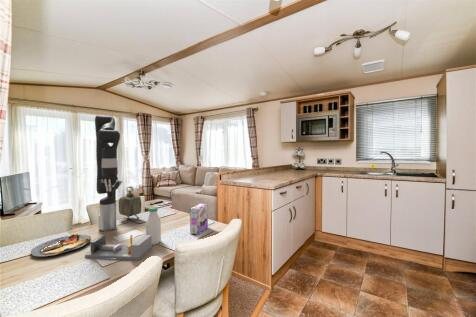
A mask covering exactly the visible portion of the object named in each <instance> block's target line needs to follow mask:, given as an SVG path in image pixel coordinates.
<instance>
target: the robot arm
mask: <svg viewBox="0 0 476 317" xmlns="http://www.w3.org/2000/svg"><path fill="white" fill-rule="evenodd" d="M94 129H95V138H96V139H95V143H96V144H95V145H96V146H95V147H96V149H95V154H96V155H95V158H96V192H97V194H98V195H104V194H105V195H106V194H107V196H105V197H103V198H101V199H99V215H98V230H99V231H102V232H107V231H113V230H115V229H116V228H117V196H116V194H117V190H119V187H120V186H121V185H122V183H123V180H119V177H118V174H119V171H118V170H119V169H118V167H119V166H118V164H119V163H118V146H119V144H120V143H119V142H120V140H121V134H120V132H119V131H118V130H115V129H116V121H115V118H114V117H113V116H110V115H100V114H99V115H95V117H94ZM110 144H112V145H110Z"/></svg>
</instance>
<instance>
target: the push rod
mask: <svg viewBox="0 0 476 317" xmlns="http://www.w3.org/2000/svg"><path fill="white" fill-rule="evenodd" d="M111 244H112V243H111ZM111 244H110V243H107V236H106V235H100V236H99V237H96V238H95V239H93V240H90V242H89V246H90V247H89V248H90V251H91V252H96V251H97V250H113V252H116V251H117V250H119V249H120V248H121V247H122V245H123V244H122V243H118V244H116V245H111Z"/></svg>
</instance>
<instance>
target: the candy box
mask: <svg viewBox="0 0 476 317" xmlns="http://www.w3.org/2000/svg"><path fill="white" fill-rule="evenodd" d="M208 206H209V205H208V204H207V203H199V204H197V205H195V206H193V207H192V206H191V208H190V209H189V224H190V225H189V233H193V234H192V235H196V234H198V235H200V234H201V233H202V232H204V231H205V230H206V229H208V228H209V225H208V224H209V216H208V214H209V213H208V210H209V209H208ZM203 230H204V231H203ZM200 232H201V233H200ZM199 233H200V234H199Z"/></svg>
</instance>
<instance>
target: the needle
mask: <svg viewBox="0 0 476 317" xmlns="http://www.w3.org/2000/svg"><path fill="white" fill-rule="evenodd" d="M129 238H130V241H129V242H130V244H128V245H129V246H128V247H127V249H128V253H130V252H131V244H133V243H134V242H135V241H134V242H133V234H130V237H129Z"/></svg>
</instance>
